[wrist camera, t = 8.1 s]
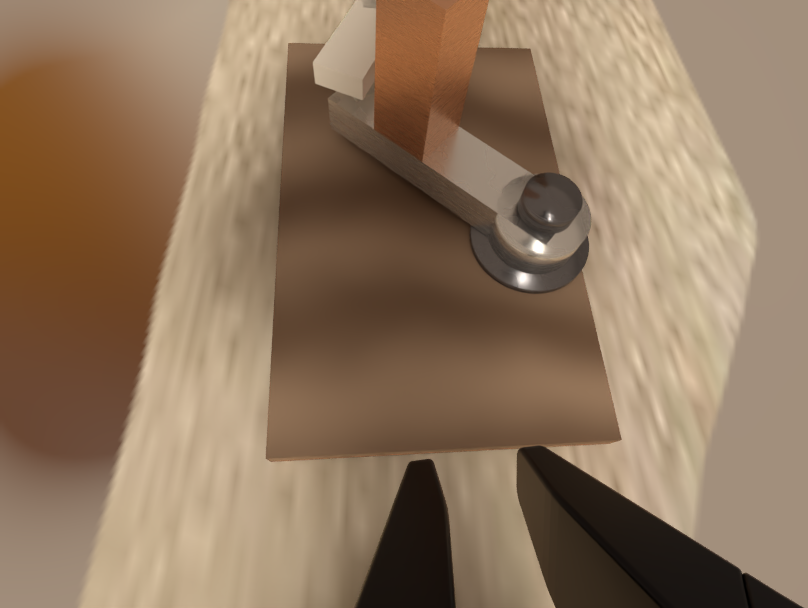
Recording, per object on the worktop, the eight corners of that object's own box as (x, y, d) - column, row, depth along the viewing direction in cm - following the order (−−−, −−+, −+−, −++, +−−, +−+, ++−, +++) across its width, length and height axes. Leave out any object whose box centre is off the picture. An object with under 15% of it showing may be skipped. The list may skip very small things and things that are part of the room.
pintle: (596, 292, 23) (636, 255, 20) (476, 295, 23) (495, 257, 19) (572, 191, 26) (603, 143, 22) (463, 192, 25) (478, 142, 22)
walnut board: (608, 443, 22) (621, 440, 21) (271, 461, 20) (265, 458, 19) (524, 64, 31) (530, 48, 30) (291, 60, 30) (288, 43, 29)
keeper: (420, 148, 26) (430, 80, 22) (320, 148, 26) (312, 78, 22) (410, 47, 29) (418, -29, 25) (322, 45, 29) (315, -33, 25)
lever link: (544, 291, 23) (655, 152, 14) (321, 134, 26) (298, -61, 17) (589, 231, 24) (714, 73, 16) (374, 90, 27) (378, -110, 18)
